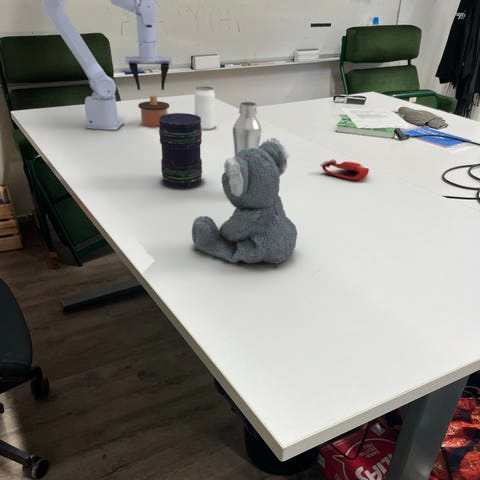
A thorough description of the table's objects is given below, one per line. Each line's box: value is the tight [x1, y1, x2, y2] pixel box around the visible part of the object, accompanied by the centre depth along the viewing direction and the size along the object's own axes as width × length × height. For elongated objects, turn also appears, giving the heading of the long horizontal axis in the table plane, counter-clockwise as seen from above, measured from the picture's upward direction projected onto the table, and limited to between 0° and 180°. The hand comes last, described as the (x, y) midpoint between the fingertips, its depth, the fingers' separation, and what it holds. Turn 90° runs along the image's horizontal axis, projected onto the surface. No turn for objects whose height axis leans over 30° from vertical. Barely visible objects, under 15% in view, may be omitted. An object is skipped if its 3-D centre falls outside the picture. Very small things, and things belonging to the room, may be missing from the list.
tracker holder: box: [319, 158, 370, 181], centre depth 125 cm, size 12×4×10 cm
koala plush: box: [191, 137, 298, 265], centre depth 85 cm, size 17×18×20 cm
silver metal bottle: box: [232, 101, 263, 157], centre depth 107 cm, size 6×7×20 cm
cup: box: [140, 108, 169, 128], centre depth 159 cm, size 9×9×6 cm
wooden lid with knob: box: [137, 95, 170, 110], centre depth 156 cm, size 10×10×3 cm
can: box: [194, 85, 216, 131], centre depth 156 cm, size 6×6×12 cm
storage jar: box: [158, 112, 203, 190], centre depth 114 cm, size 10×10×15 cm
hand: (150, 89), depth 155 cm, fingers open, 7 cm apart
